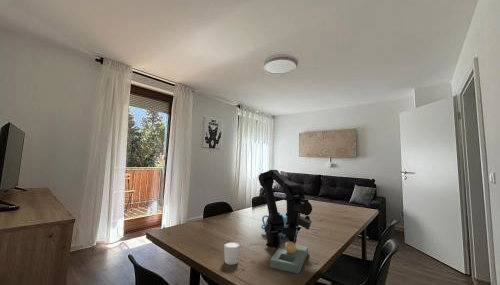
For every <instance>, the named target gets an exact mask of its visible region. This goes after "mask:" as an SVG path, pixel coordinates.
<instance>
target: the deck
mask: <svg viewBox="0 0 500 285" xmlns="http://www.w3.org/2000/svg"><path fill="white" fill-rule="evenodd" d="M286 243H287V242H283V243H281V246H279V247H278V249H277V250H276V251H275V253H274V254H273V255H272V256H271V257H270V258H269V268H272V269H277V270H280V271H284V272H289V273H293V274H299V275H300V272H301V270H302V269H303V268H302V267H303V266H304V263H305V261H306V259H307V256H308V255H309V246H305V245H300V244H295V245H296V251H295V252H294V253H292V254H290V253H288V252H287V251H286V250H285V244H286Z"/></svg>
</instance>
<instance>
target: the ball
mask: <svg viewBox="0 0 500 285" xmlns="http://www.w3.org/2000/svg"><path fill="white" fill-rule="evenodd" d="M285 243H286V244H285V250H286V251H287V252H288V253H290V254H292V253H294V252H295V251H296V245H297V244H296V243H294V242H292V241H289V240H288V241H286V242H285Z"/></svg>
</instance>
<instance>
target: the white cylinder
mask: <svg viewBox="0 0 500 285" xmlns="http://www.w3.org/2000/svg"><path fill="white" fill-rule="evenodd" d="M240 246H241V245H240V243H238V242H235V241H234V242H233V241H231V242H226V243H224V244H223V249H224V254H223V255H224V262H225V264H226V265H231V266H232V265H236V264H238V263H239V256H240V248H241V247H240Z"/></svg>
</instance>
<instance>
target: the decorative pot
mask: <svg viewBox="0 0 500 285" xmlns="http://www.w3.org/2000/svg"><path fill="white" fill-rule="evenodd" d="M278 213H279V214H280V215H282V216H283V221H284V227H285V226H289V225H286V222H287V216H286V213H281V212H280V211H278ZM268 216H269V214H266V215H263V216H262V219H261V221H262V223H263V224H262V225H261V227H260V228H261V229H262V230H264V231H265V229H264V228H265V226H266V225H267V224H268V223H267V219H268ZM265 218H267V219H266V220H265ZM280 236H281V238H286V237H287V236H286V234H282V233H280Z"/></svg>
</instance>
